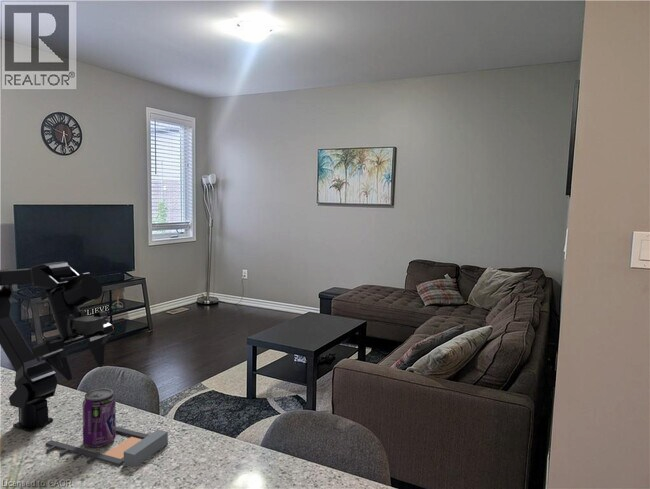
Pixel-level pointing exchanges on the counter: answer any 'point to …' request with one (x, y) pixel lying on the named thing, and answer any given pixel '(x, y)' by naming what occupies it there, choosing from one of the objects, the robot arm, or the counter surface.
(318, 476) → the counter surface
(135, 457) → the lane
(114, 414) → the beverage can
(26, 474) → the counter surface
